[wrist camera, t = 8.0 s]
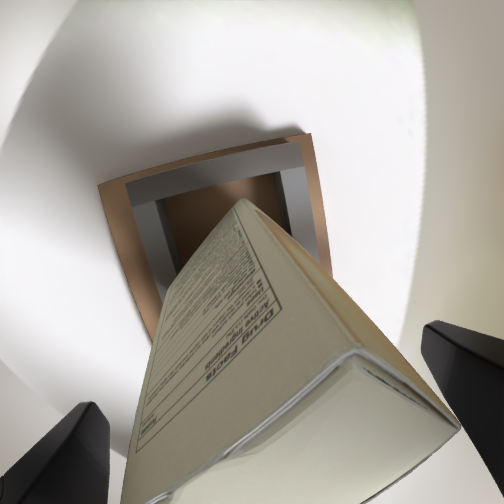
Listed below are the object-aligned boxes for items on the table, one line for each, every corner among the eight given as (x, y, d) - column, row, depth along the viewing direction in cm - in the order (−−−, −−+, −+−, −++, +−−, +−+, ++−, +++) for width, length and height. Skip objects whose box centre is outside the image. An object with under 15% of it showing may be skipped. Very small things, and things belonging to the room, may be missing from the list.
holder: (333, 315, 21) (349, 339, 18) (163, 355, 20) (157, 383, 17) (306, 133, 17) (324, 131, 14) (102, 183, 16) (82, 190, 13)
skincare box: (230, 333, 17) (260, 557, 5) (164, 288, 16) (106, 525, 4) (311, 245, 16) (473, 431, 4) (245, 188, 14) (362, 349, 3)
